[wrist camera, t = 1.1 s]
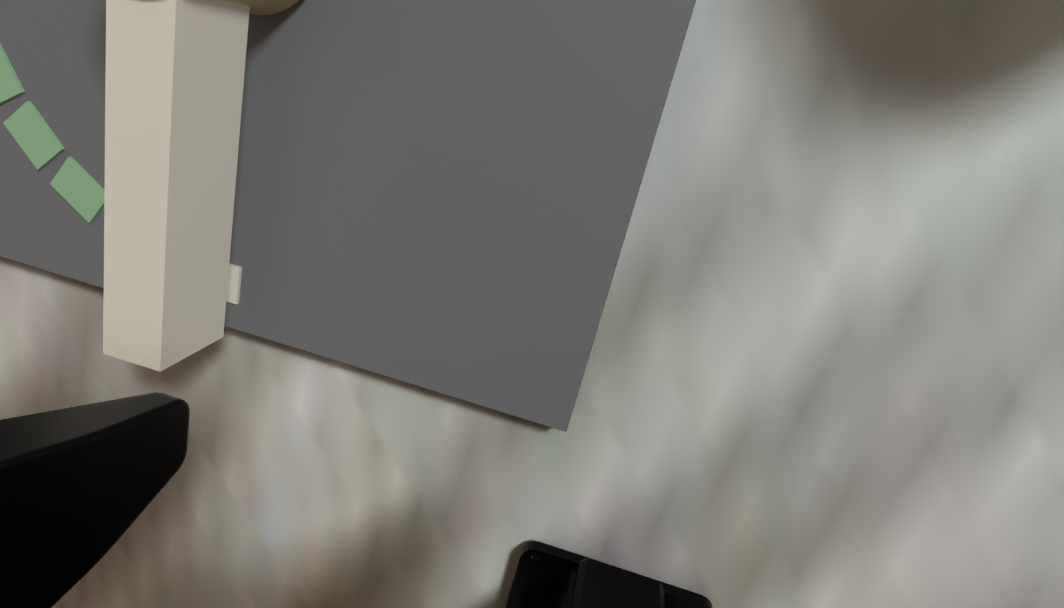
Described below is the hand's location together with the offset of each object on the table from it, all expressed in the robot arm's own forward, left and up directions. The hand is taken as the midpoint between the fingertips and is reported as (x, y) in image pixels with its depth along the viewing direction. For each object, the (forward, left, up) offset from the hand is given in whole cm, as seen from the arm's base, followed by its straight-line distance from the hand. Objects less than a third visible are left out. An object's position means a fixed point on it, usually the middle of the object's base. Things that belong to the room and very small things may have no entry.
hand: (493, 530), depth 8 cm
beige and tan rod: (+3, +10, -10) cm, 14 cm away
